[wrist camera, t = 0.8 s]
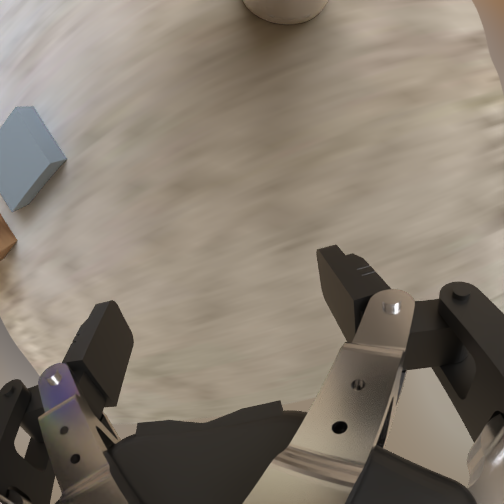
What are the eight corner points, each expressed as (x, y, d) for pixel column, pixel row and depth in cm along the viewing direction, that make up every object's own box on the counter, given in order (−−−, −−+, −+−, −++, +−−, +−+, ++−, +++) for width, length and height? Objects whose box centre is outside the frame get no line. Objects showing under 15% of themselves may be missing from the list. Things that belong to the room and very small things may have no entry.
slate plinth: (-1, 154, 30) (-19, 159, 26) (35, 106, 28) (15, 106, 24) (30, 203, 33) (12, 212, 29) (68, 158, 31) (50, 163, 27)
